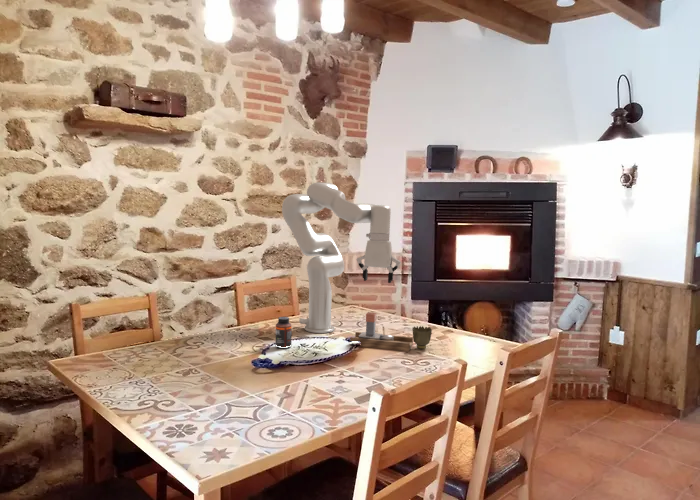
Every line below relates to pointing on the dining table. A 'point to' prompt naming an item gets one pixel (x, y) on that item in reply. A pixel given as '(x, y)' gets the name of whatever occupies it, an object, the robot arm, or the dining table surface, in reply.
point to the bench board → (385, 342)
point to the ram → (373, 329)
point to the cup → (421, 336)
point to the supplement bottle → (283, 332)
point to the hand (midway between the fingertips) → (377, 281)
